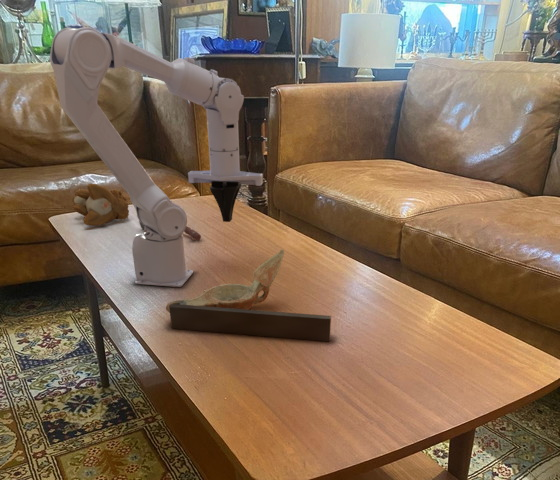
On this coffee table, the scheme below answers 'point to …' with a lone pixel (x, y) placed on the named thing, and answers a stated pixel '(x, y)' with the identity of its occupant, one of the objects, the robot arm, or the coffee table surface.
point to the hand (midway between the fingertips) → (227, 220)
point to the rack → (251, 322)
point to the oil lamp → (239, 289)
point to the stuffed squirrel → (100, 205)
